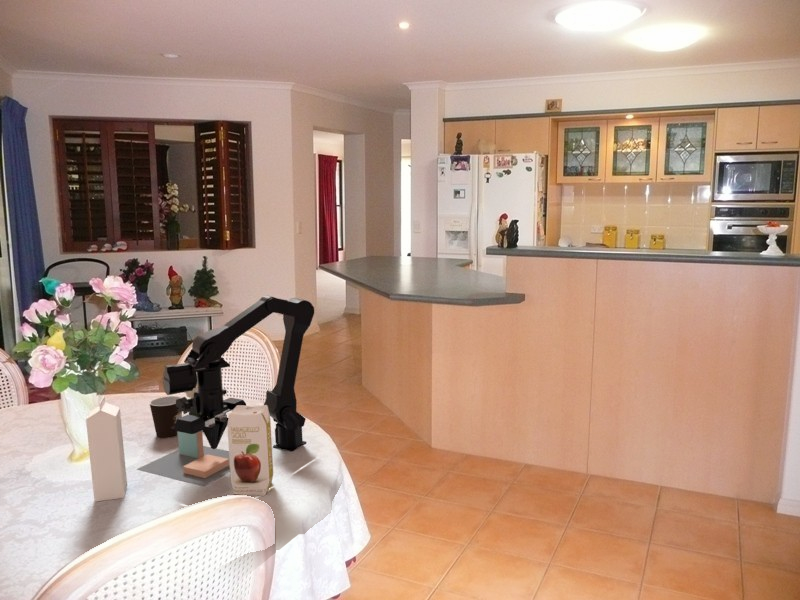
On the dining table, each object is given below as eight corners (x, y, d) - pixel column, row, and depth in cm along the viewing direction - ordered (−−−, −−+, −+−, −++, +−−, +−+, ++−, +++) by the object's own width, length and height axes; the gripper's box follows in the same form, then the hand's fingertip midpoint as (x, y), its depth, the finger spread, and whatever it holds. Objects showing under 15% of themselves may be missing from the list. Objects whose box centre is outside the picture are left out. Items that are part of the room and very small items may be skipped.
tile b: (203, 456, 158) (201, 426, 156) (198, 458, 156) (196, 428, 155) (183, 451, 161) (181, 422, 160) (178, 454, 159) (176, 424, 158)
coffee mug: (163, 443, 168) (160, 408, 166) (146, 436, 173) (143, 402, 171) (200, 430, 177) (198, 396, 175) (182, 424, 182) (180, 391, 181)
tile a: (228, 459, 151) (204, 471, 144) (229, 465, 152) (205, 478, 145) (207, 454, 154) (182, 466, 147) (207, 460, 155) (183, 473, 148)
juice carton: (239, 482, 143) (234, 403, 140) (276, 482, 143) (271, 403, 140) (229, 498, 136) (223, 415, 133) (268, 497, 135) (263, 414, 132)
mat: (256, 458, 157) (256, 456, 157) (203, 487, 141) (203, 486, 141) (191, 444, 167) (191, 443, 166) (136, 470, 151) (136, 469, 151)
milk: (94, 502, 135) (83, 405, 132) (99, 490, 141) (88, 397, 137) (124, 498, 137) (114, 402, 133) (128, 486, 143) (118, 393, 139)
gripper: (213, 373, 161) (216, 430, 164) (155, 393, 145) (160, 456, 147) (246, 378, 156) (249, 437, 158) (190, 399, 140) (194, 465, 142)
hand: (214, 448), depth 152 cm, fingers closed
